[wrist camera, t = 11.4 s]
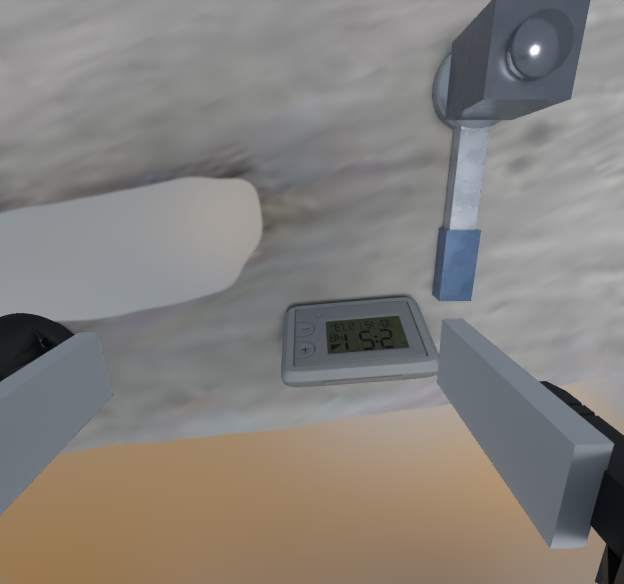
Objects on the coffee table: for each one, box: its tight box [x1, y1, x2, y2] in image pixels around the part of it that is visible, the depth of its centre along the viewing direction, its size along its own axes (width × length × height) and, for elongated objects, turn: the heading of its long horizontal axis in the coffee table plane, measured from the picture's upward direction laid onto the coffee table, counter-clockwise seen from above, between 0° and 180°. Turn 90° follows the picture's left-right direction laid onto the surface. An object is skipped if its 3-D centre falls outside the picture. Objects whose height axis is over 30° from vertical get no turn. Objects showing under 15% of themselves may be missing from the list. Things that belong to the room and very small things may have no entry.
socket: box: [445, 0, 590, 120], centre depth 28 cm, size 6×6×9 cm
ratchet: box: [432, 53, 501, 301], centre depth 34 cm, size 8×26×6 cm, turn 0°
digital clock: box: [281, 297, 439, 387], centre depth 37 cm, size 16×9×11 cm, turn 84°
